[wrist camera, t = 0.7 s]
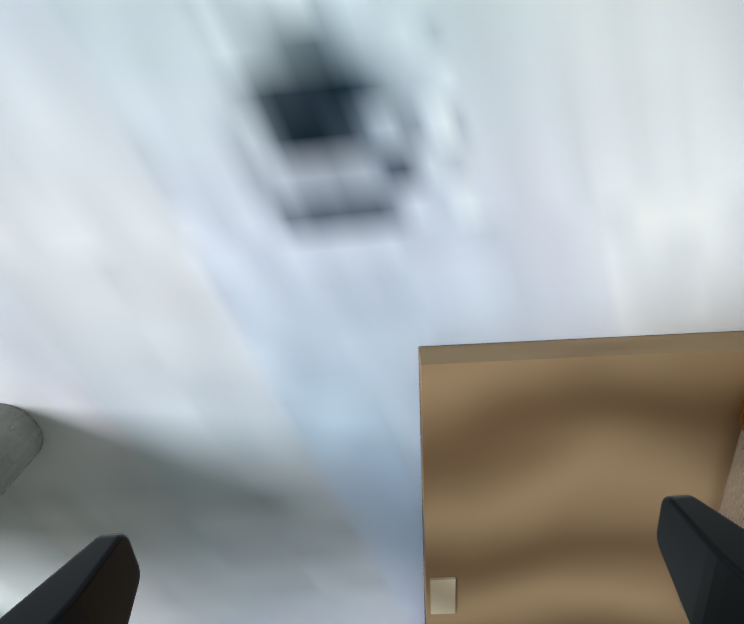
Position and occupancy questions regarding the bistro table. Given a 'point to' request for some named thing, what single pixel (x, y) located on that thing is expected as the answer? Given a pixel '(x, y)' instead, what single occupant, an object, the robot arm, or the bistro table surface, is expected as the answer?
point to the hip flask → (16, 443)
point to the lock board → (568, 472)
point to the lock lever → (734, 484)
